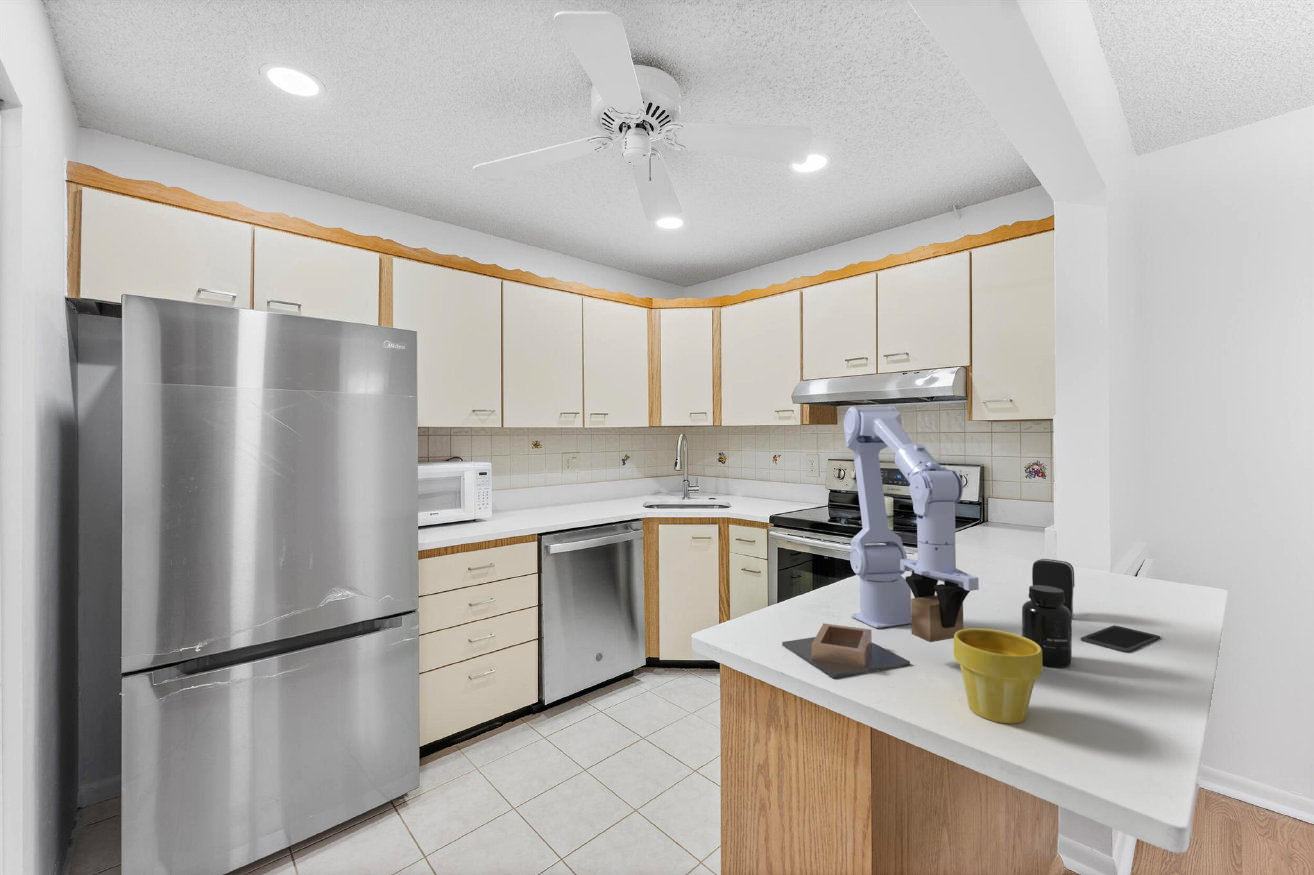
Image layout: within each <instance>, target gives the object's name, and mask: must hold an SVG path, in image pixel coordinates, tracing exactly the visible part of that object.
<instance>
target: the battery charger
mask: <svg viewBox="0 0 1314 875" xmlns="http://www.w3.org/2000/svg"><path fill="white" fill-rule="evenodd" d="M1031 571H1032V574H1031V579H1032V581H1031V583H1032V585H1042V586H1050V587H1055V588H1059V589H1061V590H1063V591H1064V603H1063V605H1064V606H1065V607H1067V608H1068V609H1069V611H1070V612H1071V615H1072V619H1074V605H1073V604H1074V589H1075V569H1074V566H1073V565H1072V564H1071V563H1070V562H1069V561H1063V560H1058V559H1049V558H1039V559H1036V560H1034V562H1033V564H1032V570H1031Z"/></svg>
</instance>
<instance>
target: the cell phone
mask: <svg viewBox="0 0 1314 875" xmlns="http://www.w3.org/2000/svg"><path fill="white" fill-rule="evenodd" d="M1161 639H1162V636H1160V635H1158V634H1154V633H1149V632H1145V631H1141V630H1137V629H1134V628H1133V629H1132V628H1128V627H1124V626H1121V625H1115V624H1114V625H1111V626H1108V627H1105V628H1102V629H1100V630H1097V631H1094V632H1093V633H1089V634H1087V635H1084V636H1082V637H1080V641H1081V642H1084V643H1087V644H1091V645H1094V646H1099V647H1102V648H1106V649H1109V650H1113V651H1116V652H1120V653H1125V654H1130V653H1133V652H1135V651H1138V650H1140V649H1142V648H1144V647H1146V646H1148V645H1150V644H1153V643H1155V642H1157V641H1159V640H1161Z"/></svg>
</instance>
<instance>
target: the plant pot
mask: <svg viewBox="0 0 1314 875" xmlns="http://www.w3.org/2000/svg"><path fill="white" fill-rule="evenodd" d="M953 657H954V660H955V661H956V663H957V664H958V665H959V666H960V673H961V677H962V681H963V685H964V690H965V694H966V699H967V705H968V707H969V710H971V711H972V712H973V713H974V714H975V715H977V716H979V717H981V718H983V719H985V720H989V721H992V722H995V723H1000V724H1008V725H1009V724H1010V725H1011V724H1013V725H1014V724H1021V723H1022V722H1024V721H1025V720H1026V717H1027V713H1028V709H1029V705H1030V701H1031V697H1032V694H1033V693H1032V692H1033V690H1034V685H1035V681H1036V680H1037V679H1039V678H1040V677H1041V676H1042V671H1043V665H1042V649H1041V647H1040V646H1039V645H1038V644H1037V643H1035V642H1034V641H1032V640H1030V639H1028V638H1025V637H1022V635H1019V634H1016V633H1013V632H1007V631H1003V630H998V629H991V628H982V627H981V628H980V627H979V628H977V627H976V628H974V627H973V628H971V627H970V628H963V630H959V631H957V632H956V633H955V635H954V638H953Z"/></svg>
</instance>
